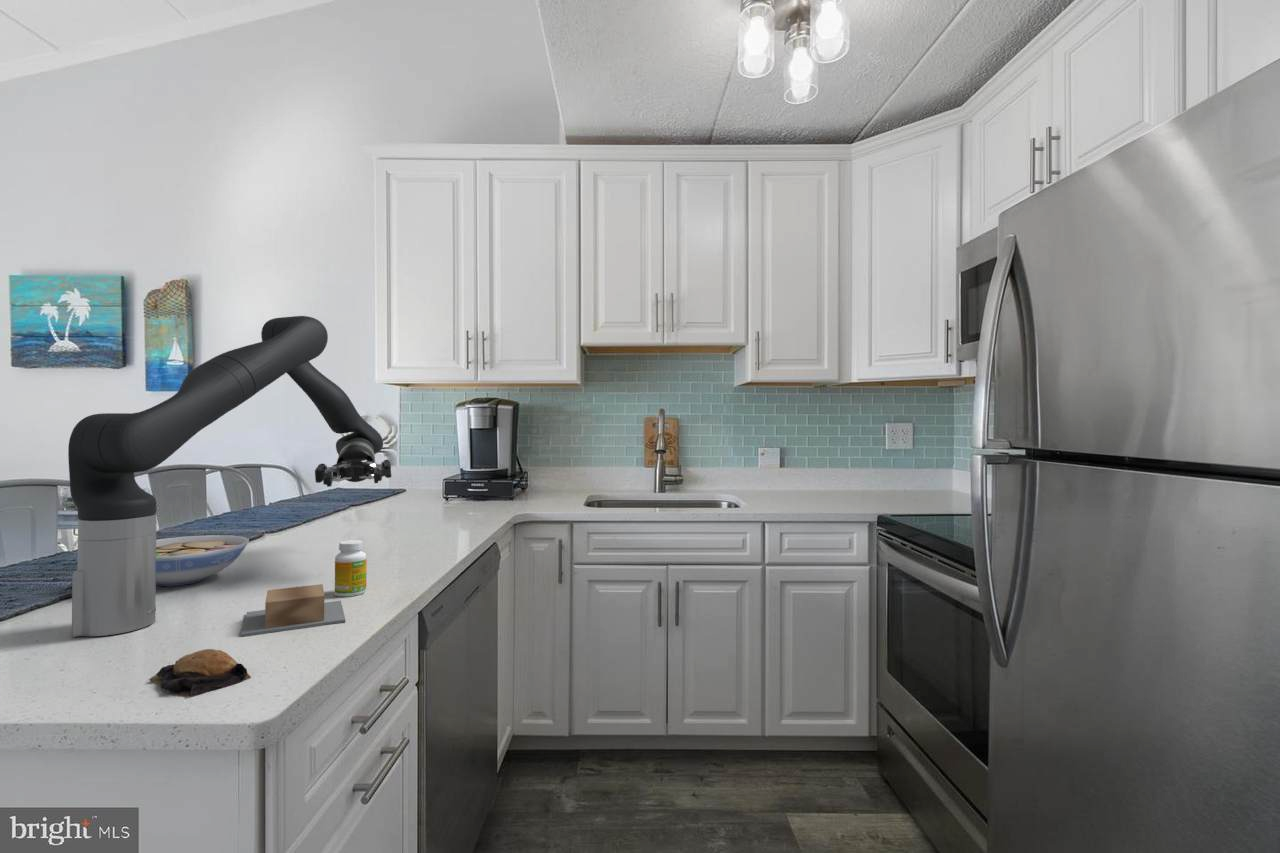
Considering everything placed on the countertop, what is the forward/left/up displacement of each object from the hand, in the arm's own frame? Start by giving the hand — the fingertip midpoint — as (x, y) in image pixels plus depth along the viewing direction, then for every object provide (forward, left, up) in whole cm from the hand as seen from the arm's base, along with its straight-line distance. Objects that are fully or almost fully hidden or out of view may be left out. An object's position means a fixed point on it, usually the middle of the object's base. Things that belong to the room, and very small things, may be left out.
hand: (352, 480), depth 119 cm
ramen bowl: (-30, +18, -21) cm, 41 cm away
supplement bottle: (-1, -7, -21) cm, 22 cm away
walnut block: (-10, -20, -20) cm, 30 cm away
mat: (-10, -19, -21) cm, 30 cm away
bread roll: (-20, -40, -21) cm, 49 cm away
